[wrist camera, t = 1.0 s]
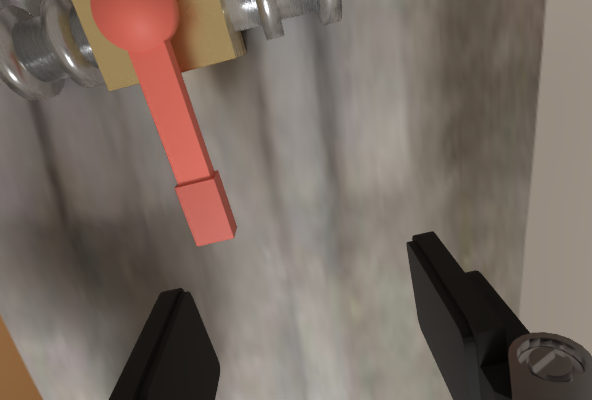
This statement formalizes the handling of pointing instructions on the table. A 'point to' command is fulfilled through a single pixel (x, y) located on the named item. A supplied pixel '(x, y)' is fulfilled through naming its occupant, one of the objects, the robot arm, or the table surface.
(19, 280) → the table surface
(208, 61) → the ball valve
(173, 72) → the lever
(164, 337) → the robot arm
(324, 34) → the table surface
